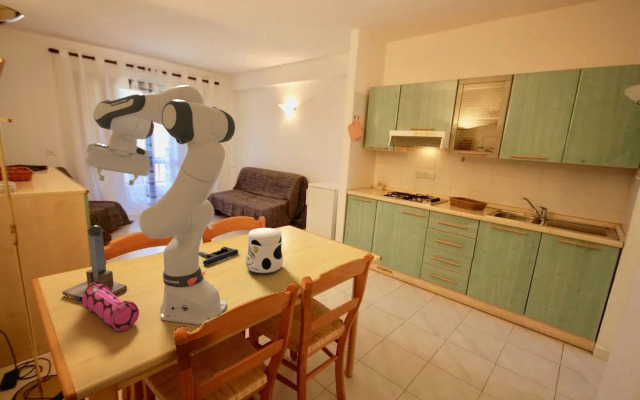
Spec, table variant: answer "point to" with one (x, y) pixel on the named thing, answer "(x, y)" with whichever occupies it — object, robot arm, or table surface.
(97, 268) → the lever
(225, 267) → the table surface
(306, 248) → the table surface
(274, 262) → the milk container
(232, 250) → the door handle
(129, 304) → the pencil case
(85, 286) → the press stand
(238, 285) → the table surface
